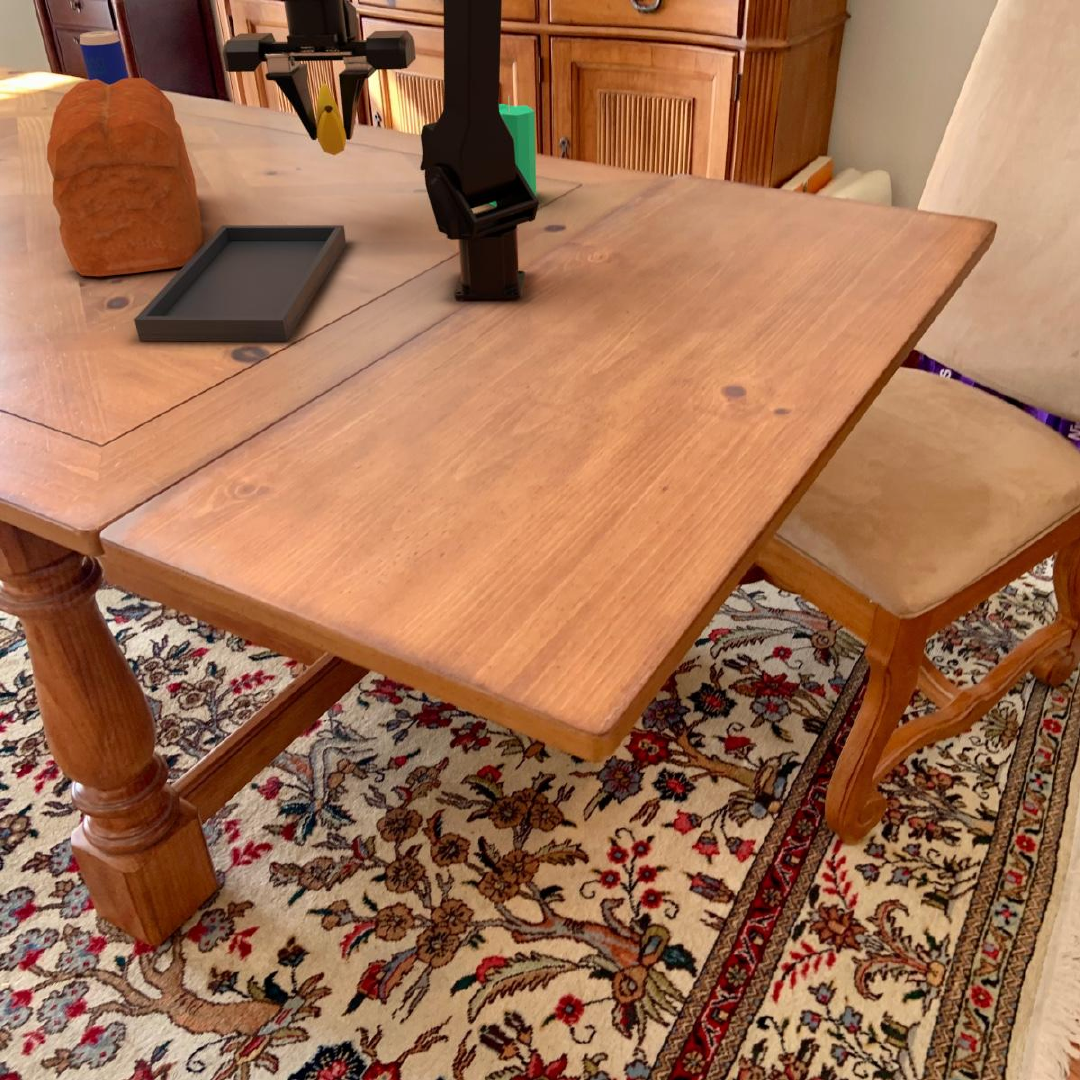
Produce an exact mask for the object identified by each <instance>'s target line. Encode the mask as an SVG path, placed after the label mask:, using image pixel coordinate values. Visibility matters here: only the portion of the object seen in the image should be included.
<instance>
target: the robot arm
mask: <svg viewBox="0 0 1080 1080" xmlns="http://www.w3.org/2000/svg"><path fill="white" fill-rule="evenodd" d="M280 1H281V2H283V3H284V9H285V10H284V11H285V17H286V23H287V28H288V29H287V30H288V35H286V41H277V40H276V38H275V37H274V34H273V32H255V33H254V32H251V33H250V32H249V33H248V32H247V33H244V32H243V33H239V34H236V35H235V36H233V37H231V38H230V39H227V40H226V41H225V43H224V44H223V47H222V56H223V57H222V58H223V63H224V67H225V71H226V72H227V73H250V72H251V73H255V72H256V71H257V70H258V69H259V67H260V65H261V64H262V63H265V64H266V70H267V72H266V73H265V80H266V81H274V82H275V83H276V85H277V87H278V88H279V89H280V90H281V92H282V94H283V95H284V96H285V97H286V99H287V100H288V101H289V104H291V106H292V108H293V110H294V111H295V113H296V115H297V116H298V118H299V120H300V122H301V123H302V125H303V127H304V129H305V130H306V132H307V135H309V136H308V137H310V139H311V140H312V141H316V140H318V137H317V124H316V113H315V110H314V106H313V101H312V97H311V92H310V88H309V83H308V82H309V81H308V64H307V63H300V62H327V61H329V62H331V61H333V62H334V61H335V62H336V61H340V62H341V61H342V62H343V65H344V66H345V68H344V69H343V70H342V71H341V72H340V73H338V82H339V92H340V102H341V104H340V105H341V113H342V115H341V116H342V121H343V126H344V129H345V133H346V141H350V140H352V138H353V135H354V129H355V125H356V119H357V114H358V108H359V103H360V97H361V94H362V90H363V87H364V84H365V82H366V80H367V79H370V78H371V77H372V75H373V74H375V72H377V71H379V70H381V71H383V70H385V71H386V70H387V71H388V70H404V69H408V68H409V66H410V65H411V64H413V62H414V61H415V60H416V59H417V58H416V48H415V47H416V46H415V39H414V37H413V35H412V34H411V33H410V32H409V31H408V30H403V29H402V30H375V31H373V32H372V33H371V34H370V35H368V36H367V37H365V39H359V38H358V18H357V15H358V14H357V8H356V7H355V6H354V5H353V4H352V3H351V2H350V1H349V0H280ZM442 5H443V108H442V112H441V114H440V116H439V118H438V120H437V121H435V122H431V123H430V122H429V123H427V124H423V126H422V130H421V132H420V141H421V148H422V156H421V157H422V158H421V163H420V167H419V168H420V171H424V184H425V189H426V193H427V196H428V199H429V202H430V206H431V209H432V212H433V216H434V219H435V222H436V226H437V229H438V232H439V233H442V234H445V235H446V239H448V240H450V241H451V240H452V241H454V240H456V241H458V253H459V254H458V255H459V270H460V272H459V273H460V274H459V277H458V280H457V283H456V286H455V289H454V292H453V297H454V299H455V300H520V299H521V298H522V294H523V288H524V283H525V278H526V272H525V271H524V270H519V246H518V244H519V242H518V226H519V225H522V224H525V223H527V222H529V223H530V222H533V221H536V217H537V213H538V209H539V205H540V202H539V199H538V197H537V195H536V196H535V194H534V193H533V191H532V189H531V188H530V186H529V184H528V183H527V181H526V180H525V178H524V176H523V175H522V173H521V171H520V170H519V168H518V167H517V165H516V162H515V149H514V139H513V137H512V135H511V133H510V131H509V129H508V127H507V125H506V123H505V122H504V120H503V118H502V116H501V114H500V112H499V104H500V83H501V82H500V80H501V78H500V75H501V45H502V43H501V41H502V7H503V0H443V4H442ZM495 201H496V204H497V206H495V207H494V206H492V207H490V208H486V209H483V210H480V211H476V212H474V211H473V209H476V208H479V207H482V206H485V205H489V203H491V202H495Z"/></svg>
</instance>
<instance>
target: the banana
mask: <svg viewBox="0 0 1080 1080" xmlns="http://www.w3.org/2000/svg"><path fill="white" fill-rule="evenodd" d="M315 119H316V124H317V137H318V138H317V140H318V143H319V145H320V148H321V150H322V151H323V152H324V153H327V154H329V155H332V156H336V155H339V154H340V153H342V152H344V151H345V147H346V144H347V143H346V142H347V139H346V133H345V129H344V125H343V117H342V115H341V111H340V109H339V107H338V104H337V103H336V101H335V98H334V97H333V94H332V92H331V90H330V89H329V87H328V84H327V83H322V84H321V86H320V88H319V92H318V97H317V101H316V110H315Z"/></svg>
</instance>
